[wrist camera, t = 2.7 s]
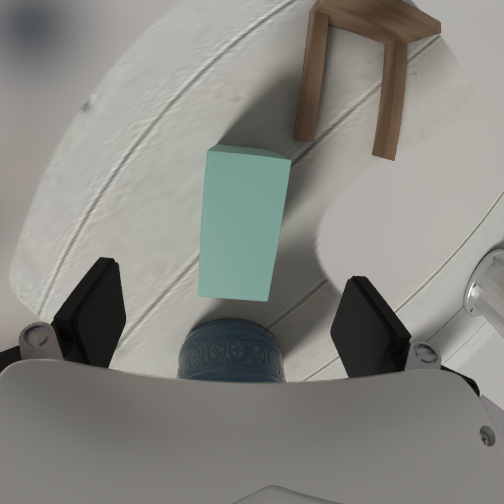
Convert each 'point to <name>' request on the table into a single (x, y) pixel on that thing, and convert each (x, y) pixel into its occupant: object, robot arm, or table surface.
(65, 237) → the table surface
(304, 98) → the book slot
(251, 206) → the teal rectangular block
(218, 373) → the canister
